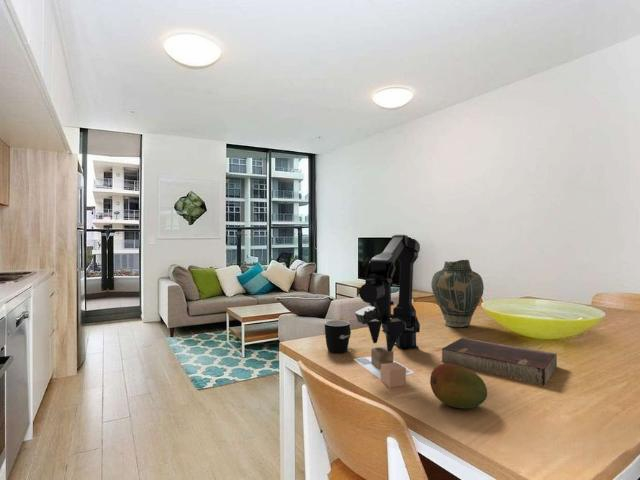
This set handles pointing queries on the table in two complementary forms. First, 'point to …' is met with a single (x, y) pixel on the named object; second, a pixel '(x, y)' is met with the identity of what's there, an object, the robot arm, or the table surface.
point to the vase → (457, 292)
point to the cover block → (393, 374)
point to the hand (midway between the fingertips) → (382, 347)
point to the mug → (337, 335)
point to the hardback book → (501, 359)
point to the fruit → (457, 386)
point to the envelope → (377, 372)
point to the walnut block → (381, 356)
